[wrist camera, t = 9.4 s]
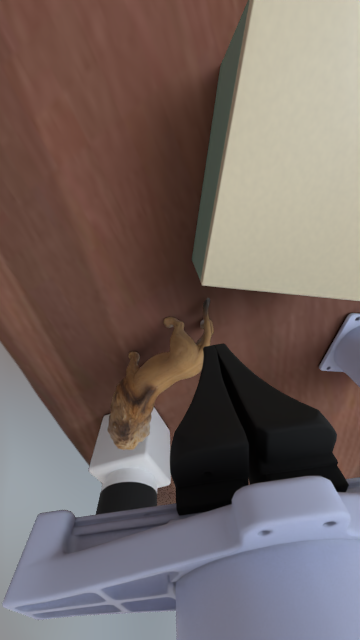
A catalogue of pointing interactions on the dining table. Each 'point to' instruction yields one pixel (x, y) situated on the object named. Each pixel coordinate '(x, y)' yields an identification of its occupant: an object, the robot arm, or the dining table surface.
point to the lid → (292, 155)
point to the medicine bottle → (131, 468)
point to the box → (217, 141)
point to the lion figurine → (154, 381)
